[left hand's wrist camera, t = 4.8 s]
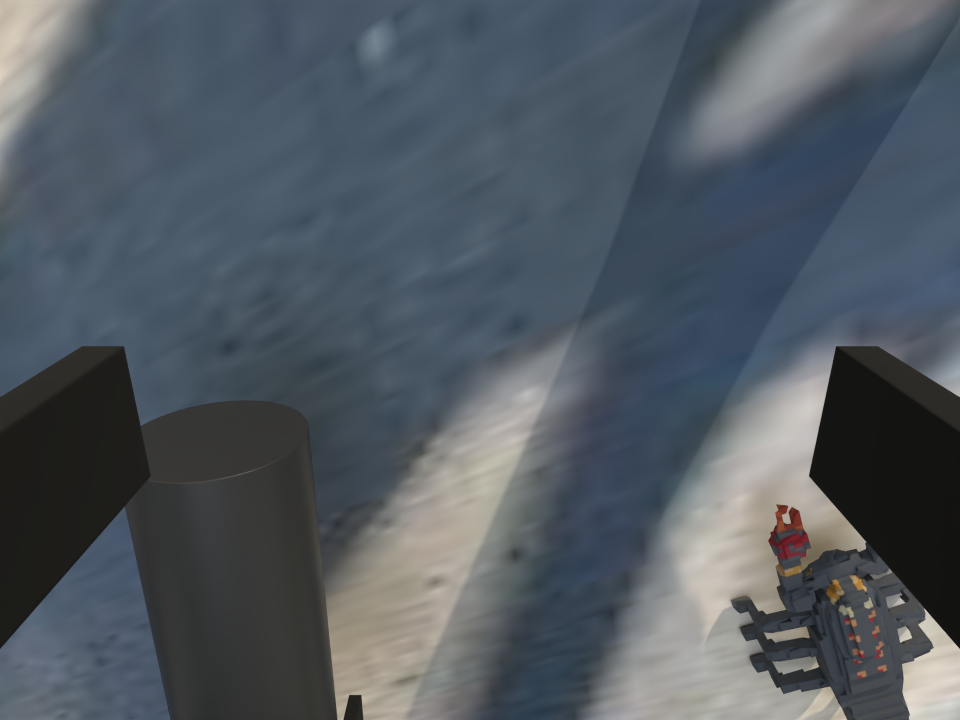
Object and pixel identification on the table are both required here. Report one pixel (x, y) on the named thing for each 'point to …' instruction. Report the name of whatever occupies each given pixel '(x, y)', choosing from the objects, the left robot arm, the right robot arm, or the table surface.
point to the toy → (838, 625)
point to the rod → (234, 564)
